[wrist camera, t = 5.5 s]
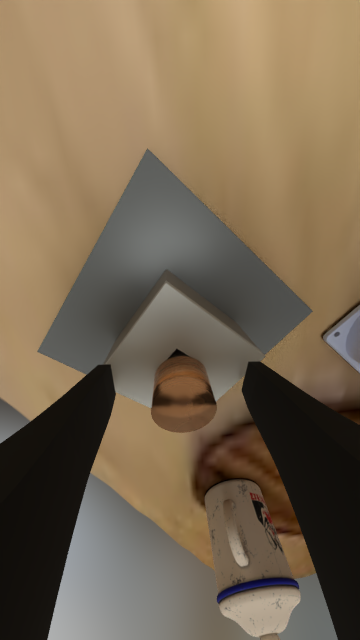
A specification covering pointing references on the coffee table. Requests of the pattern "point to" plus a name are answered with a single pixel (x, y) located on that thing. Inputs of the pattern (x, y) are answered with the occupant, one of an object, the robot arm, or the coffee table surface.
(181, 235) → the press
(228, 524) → the teacup with lid
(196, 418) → the plunger
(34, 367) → the coffee table surface
